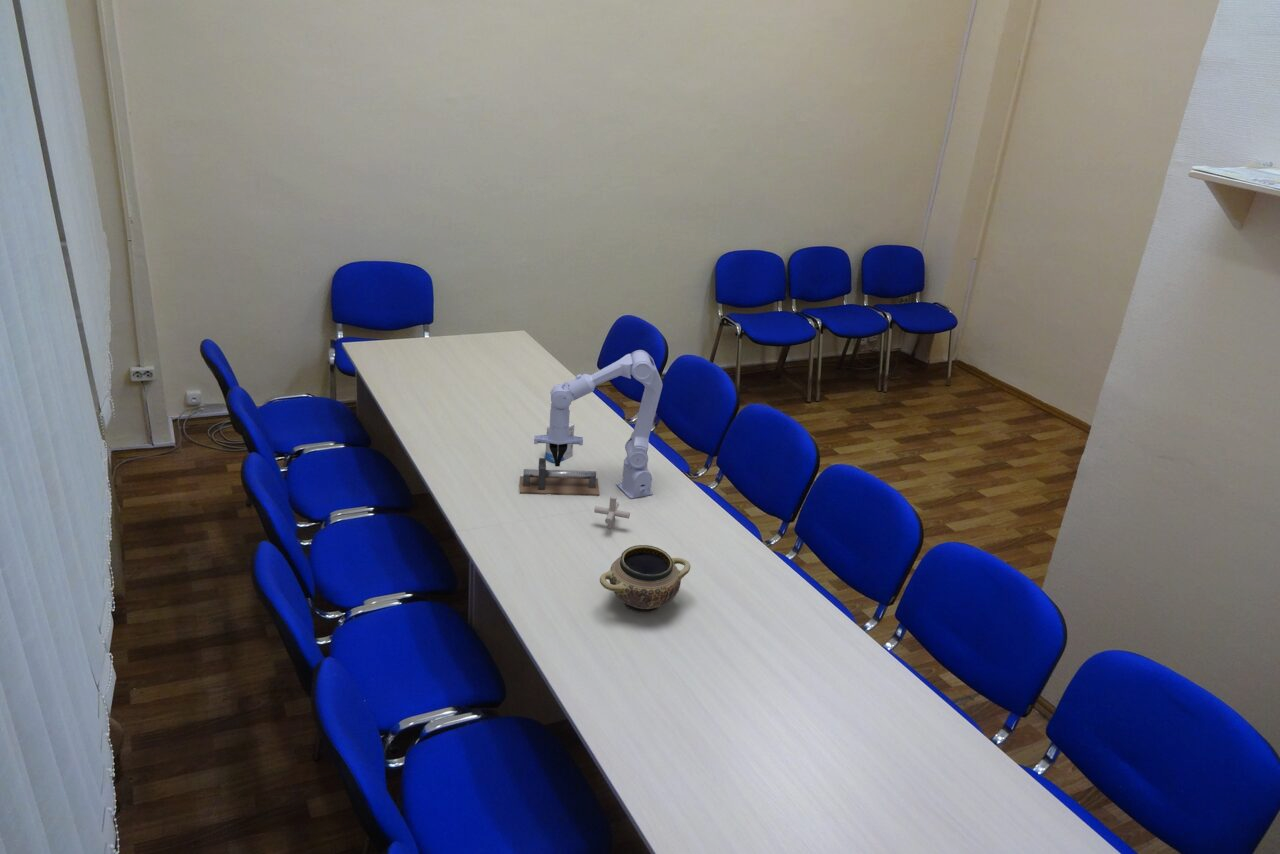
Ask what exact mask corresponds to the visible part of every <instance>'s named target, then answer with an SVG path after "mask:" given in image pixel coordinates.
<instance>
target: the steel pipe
mask: <svg viewBox="0 0 1280 854" xmlns="http://www.w3.org/2000/svg"><path fill="white" fill-rule="evenodd" d="M522 476H523V487H530V477H539V469H536V468H535V469H533V468H529V469H528V468H523V475H522ZM546 478H575V479H589V482H588V484H589V488H595V487H596V478H597V471H595V470H568V469H567V470H565V469H546Z"/></svg>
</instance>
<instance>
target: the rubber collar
mask: <svg viewBox="0 0 1280 854" xmlns="http://www.w3.org/2000/svg"><path fill="white" fill-rule="evenodd" d="M538 470H539V477H538V489H545V478H546V470H547V460H546V458H545V457H538Z"/></svg>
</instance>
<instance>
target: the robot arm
mask: <svg viewBox="0 0 1280 854" xmlns="http://www.w3.org/2000/svg"><path fill="white" fill-rule="evenodd" d="M631 376H632V377H633V379H635V380H636V381H638V382H640V383H641V384H643V386H644V389H643V390H644V391H643V394H642V398H641V401H640V406H639V409H638V413H637V417H636V421H635V425H634V428H633V432H632V433H631V434H630V437H629V439H628V440H627V441H626V442H625V445H624V450H625V451H626V457H625V458H624V459H623V470H622V479H621V480H622V481H621V482H618V483H616V486H617V488H619V489H620V490H621V492H623V493H624V494H625V495H626V497H628V499H636V498H637V499H638V498H642V497H647V496H653V492H652V489H651V488H652V479H653V477H652V474H651V472H650V471H649V468H648V462H649V455H648V450H649V441H650V440H649V438H650V435H651V431H652V428H653V424H654V421H655V416H656V412H657V408H658V404H659V401H660V398H661V393H662V391H663V390H662V389H663V385H664V384H663V381H662V378H661V375H660V373H659V371H658V369H657V366H656V364H655V361H654V358H653V357H652V356H651V355H650V354H649V353H648V352H647V351H645V350H643V349H638V350H635V351H632V352H631V353H627V354H625V355H624V356H623V357H621V358H620V359H618V360H616V361H614V362H612V363H611V364H609V365H607V366H605V367H603V368H602V369H599V370H597V372H594V373H592V374H587V373H583V374H581V373H579V374H577V375H576V377H575V378H573V379H570V380H568V381H567V382H565V381H564V382H562V383H561V384H556V385H554V386H553V387H552V389H551V391H550V401H551V403H550V410H549V425H550V429H549V434H547V433H546V434H539V435H534V438H533V444H534V445H538V444H546V443H549V447H550V450H551V452H552V455H553V457H554V461H555V463H554V467H561V466H560V465H561V462H562V461H561V459H562V457H563V455H564V453H565V452H566V450H567V444H573V445H578V446H584V437H583V436H576V435H574V436H572V435H568V433H569V422H570V411H571V410H570V406H571V404H572V402H574V401H577V400H578V399H580V398H582V397H584V396H586V395H588V394H591V393H592V392H593V393H594V390H595V388H596V386H598V385H601V384H603V383H606V382H608V381H610V380H613V379H615V378H618V377H623V378H627V379H629V380H630V379H632V377H631ZM558 444H559V449H558ZM557 453H558V459H557Z"/></svg>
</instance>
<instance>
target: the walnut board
mask: <svg viewBox="0 0 1280 854" xmlns="http://www.w3.org/2000/svg"><path fill="white" fill-rule="evenodd" d="M588 482H589V479H575V478H545V489H538V477H530V487H523V475H522V476H521V475H520V477H519V495H546V494H551V495H553V496H554V495H555V496H556V495H557V496H590V497H591V496H592V497H599V496H600V488H599V481H598V477H596V487H595V488H589V484H588Z"/></svg>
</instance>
